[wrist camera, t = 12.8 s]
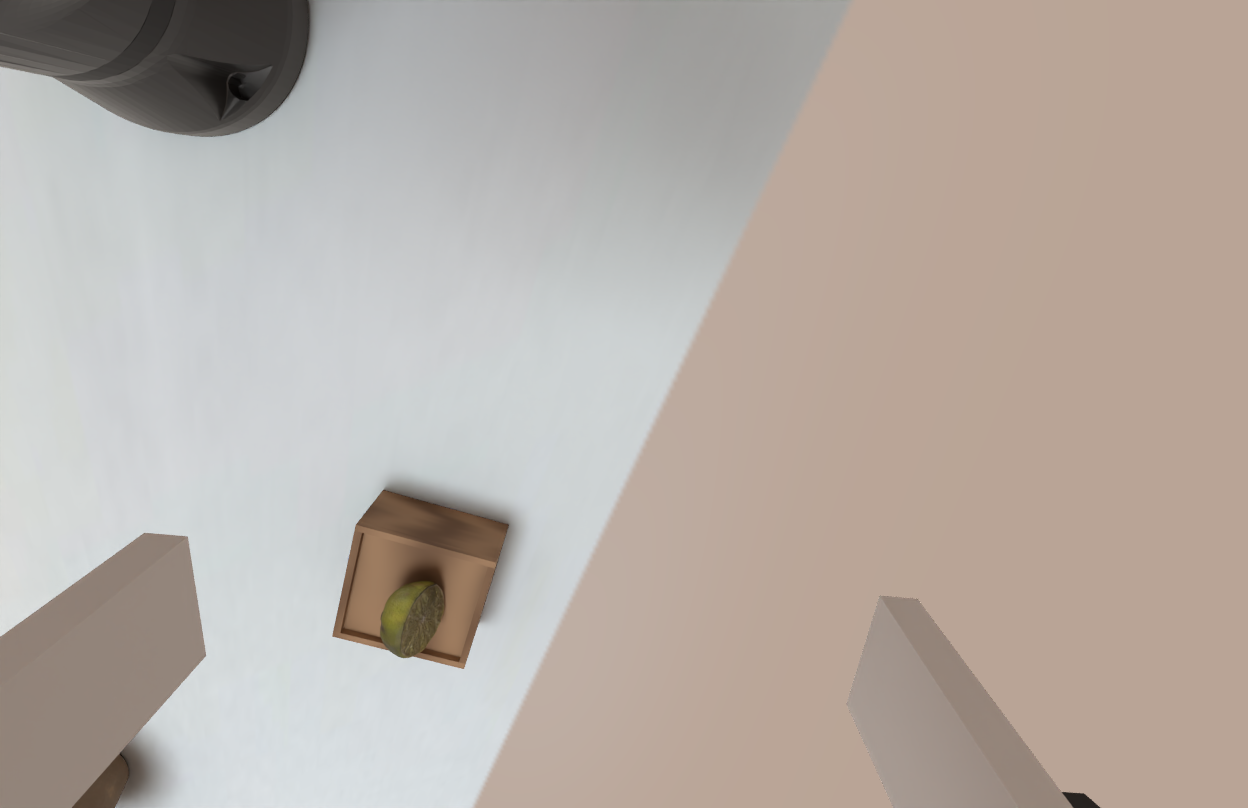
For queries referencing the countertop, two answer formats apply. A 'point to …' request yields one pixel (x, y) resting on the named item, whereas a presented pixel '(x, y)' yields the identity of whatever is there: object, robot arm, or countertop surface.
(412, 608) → the lime
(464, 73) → the countertop surface
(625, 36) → the countertop surface
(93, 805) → the flower pot
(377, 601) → the walnut tray
